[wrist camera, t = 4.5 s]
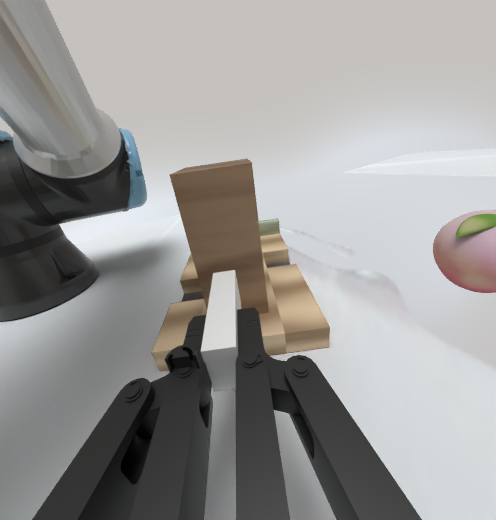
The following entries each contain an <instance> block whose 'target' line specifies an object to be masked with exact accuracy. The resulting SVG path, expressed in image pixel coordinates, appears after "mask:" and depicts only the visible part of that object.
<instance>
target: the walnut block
mask: <svg viewBox="0 0 496 520" xmlns="http://www.w3.org/2000/svg"><path fill="white" fill-rule="evenodd" d="M170 178H171V182H172V185H173V189H174V192H175V196H176V200H177V203H178V207H179V210H180V214H181V218H182V221H183V225H184V229H185V232H186V236H187V240H188V243H189V247H190V250H191V254H192V258H193V261H194V265H195V268H196V272H197V276H198V279H199V283H200V287H201V290H202V294H203V297H204V301H205V305H206V308H207V309H208V303H209V296H210V290H211V284H212V278H213V273H217V272H224V271H231V270H235V273H236V278H237V284H238V289H239V294H240V300H241V309H245V308H252V307H255V309H256V310H257V311H258V312H259V314H264V313H269V308H268V300H267V291H266V282H265V274H264V265H263V256H262V248H261V239H260V230H259V222H258V213H257V206H256V196H255V187H254V179H253V170H252V163H251V162H250V161H249V160H248V159H241V160H235V161H228V162H221V163H215V164H208V165H201V166H195V167H188V168H184V169H182V170H179V171H177V172H175V173H173V174H170Z"/></svg>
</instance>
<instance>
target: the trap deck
mask: <svg viewBox="0 0 496 520" xmlns="http://www.w3.org/2000/svg"><path fill="white" fill-rule="evenodd" d="M258 222H259V230H260V239H261V248H262V256H263V265H264V274H265V282H266V291H267V300H268V308H269V313H264V314H259V317H260V324H261V331H262V337H263V344H264V349H265V351H266V353H267V354H268V355H276V354H283V353H290V352H297V351H304V350H311V349H318V348H325V347H329V333H330V327H329V325H328V323H327V321H326V319H325V317H324V315H323V313H322V312H321V310H320V308H319V306H318V304H317V302H316V300H315V298H314V297H313V295H312V293H311V291H310V289H309V287H308V285H307V284H306V282H305V280H304V278H303V276H302V274H301V272H300V270H299V269H298V267H297V265H296V264H292V265H290V263H289V257H288V248H287V246H286V244H285V242H284V240H283V239H282V237H281V235H280V230H279V220H278V219H271V220H264V221H258ZM180 282H181V285H182V288H183V291H184V296H183V299H182V302H178V303H171V305H170V307H169V310H168V312H167V315H166V317H165V320H164V322H163V325H162V327H161V330H160V332H159V335H158V337H157V340H156V342H155V345H154V347H153V350H152V352H151V353H152V355H153V357H154V359H155V361H156V363H157V365H158V367H159V370H160V371H163V370H169V369H168V367H167V364H166V362H165V360H164V359H165V357H166V356H167V354H168V353H169V352H170V351H171V350H172V349H174V348H176V347H177V346H181V345H183V343H184V339H185V335H186V332H187V327H188V323H189V322H190V321H191V319H192V318H193V317H194V316H201V315H207V308H206V305H205V301H204V297H203V294H202V290H201V287H200V283H199V279H198V276H197V272H196V268H195V265H194V261H193V258H192V254H191V255H190V257H189V260H188V262H187V265H186V267H185V270H184V272H183V275H182V277H181V280H180Z"/></svg>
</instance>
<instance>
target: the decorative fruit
mask: <svg viewBox="0 0 496 520" xmlns="http://www.w3.org/2000/svg"><path fill="white" fill-rule="evenodd" d="M433 254H434V258H435V261H436V263H437V265H438V267H439V269H440V270H441V272H442V273H443V274H444V276H446V278H447V279H449V280H450V281H451V282H453V283H454V284H456V285H458V286H460V287H462V288H465V289H468V290H471V291H474V292H482V293H492V292H496V210H483V211H475V212H470V213H468V214H464V215H462V216H460V217H457V218H456V219H454V220H452V221H451V222H449V223H447V224H446V225H445V226H443V227H442V228H441V230H440V231H439V232H438V234H437V236H436V237H435V240H434V244H433Z"/></svg>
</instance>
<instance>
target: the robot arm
mask: <svg viewBox="0 0 496 520" xmlns="http://www.w3.org/2000/svg"><path fill="white" fill-rule="evenodd" d="M0 117H1V118H2V119H3V120H4V121H5V122H6V123H7V124H8V125H9V126H10V127H11V128H12V129H13V131H14V134H13V137H11V135H10V134H8V133H7V132H5V131H0V321H7V320H13V319H18V318H22V317H26V316H30V315H33V314H36V313H39V312H41V311H44V310H47V309H49V308H52V307H54V306H56V305H58V304H60V303H62V302H64V301H66V300H68V299H70V298H72V297H74V296H75V295H77V294H79V293H80V292H82V291H83V290H85V289H86V288H87V287H88V286H90V285H91V284H92V283H93V282H94V281H95V279H96V278H97V275H98V272H97V270H96V268H95V266H94V264H93V263H92V261H91V260H90V259H89V258H87V257H86V256H85V255H84V254H83V253H82V252H81V251H80V250H79V249H78V248H77V247H76V246H75V245H74V244H72V243H71V242H70V241H69V240H68V239H67V238H66V236H65V234H64V233H63V231H62V229H61V227H60V226H59V224H61V223H66V222H70V221H75V220H80V219H85V218H90V217H95V216H100V215H105V214H110V213H116V212H120V211H123V212H124V211H128V210H129V209H132V208H136V207H140V206H142V205H143V204H145V202H146V200H147V192H146V185H145V180H144V176H143V173H142V168H141V162H140V159H139V155H138V151H137V147H136V144H135V141H134V138H133V136H132V134H131V133H130V131H128V130H125V129H121V128H119V129H118V127H117V126H116V124H115V123H114V121H113V120H112V119H111V118H110V117H109V116H108V115H107V114H106V113H104V112H103V111H101V110H100V109H97V108H95V106H94V104H93V102H92V100H91V98H90V95H89V93H88V91H87V89H86V87H85V85H84V82H83V80H82V78H81V76H80V74H79V72H78V70H77V68H76V65H75V63H74V61H73V59H72V57H71V55H70V53H69V50H68V48H67V46H66V44H65V42H64V40H63V38H62V35H61V33H60V31H59V29H58V27H57V25H56V23H55V21H54V18H53V16H52V14H51V12H50V10H49V8H48V6H47V3H46V1H45V0H0ZM164 360H165V362H166V364H167V367H168V369H169V371H170V373H169V374H168V375H166V376H164V377H162V378H160V379H158V380H156V381H153V382H151V383H150V382H149V381H148V380H147V379H145V378H139V379H136V380H133V381H131V382H130V383H128V384H127V385H126V386H124V388H123V389H122V390H121V391H120V392H119V394H118V395H117V397H116V398H115V400H114V401H113V403H112V404H111V405H110V407H109V408H108V410H107V411H106V413H105V414H104V416H103V417H102V419H101V420H100V422H99V423H98V424H97V426H96V427H95V429H94V430H93V432H92V433H91V435H90V436H89V438H88V439H87V440H86V442H85V443H84V445H83V446H82V448H81V449H80V451H79V452H78V454H77V455H76V457H75V458H74V459H73V461H72V462H71V464H70V465H69V467H68V468H67V470H66V471H65V473H64V474H63V476H62V477H61V478H60V480H59V481H58V483H57V484H56V486H55V487H54V489H53V490H52V492H51V493H50V495H49V496H48V497H47V499H46V500H45V502H44V503H43V505H42V506H41V508H40V509H39V511H38V512H37V514H36V515H35V516H34V518H33V519H32V520H204V511H205V498H206V485H207V472H208V460H209V447H210V434H211V421H212V408H213V402H212V397H211V387H212V388H213V391H221V390H228V389H235V388H236V520H290V517H289V510H288V504H287V497H286V490H285V483H284V477H283V470H282V463H281V457H280V450H279V443H278V437H277V430H276V423H275V416H274V410H277V411H282V412H286V413H289V415H290V417H291V419H292V421H293V424H294V426H295V428H296V430H297V432H298V435H299V437H300V439H301V441H302V444H303V446H304V448H305V450H306V453H307V455H308V457H309V459H310V461H311V464H312V466H313V468H314V470H315V473H316V475H317V477H318V479H319V482H320V484H321V486H322V488H323V490H324V493H325V495H326V497H327V499H328V502H329V504H330V506H331V508H332V511H333V513H334V515H335V517H336V520H422V519H421V518H420V516H419V515H418V513H417V512H416V511H415V509H414V508H413V506H412V505H411V503H410V502H409V500H408V499H407V497H406V496H405V494H404V493H403V491H402V490H401V489H400V487H399V486H398V484H397V483H396V481H395V480H394V478H393V477H392V475H391V474H390V472H389V471H388V470H387V468H386V467H385V465H384V464H383V462H382V461H381V459H380V458H379V456H378V455H377V453H376V452H375V450H374V449H373V448H372V446H371V445H370V443H369V442H368V440H367V439H366V437H365V436H364V434H363V433H362V431H361V430H360V428H359V427H358V426H357V424H356V423H355V421H354V420H353V418H352V417H351V415H350V414H349V412H348V411H347V409H346V408H345V406H344V405H343V404H342V402H341V401H340V399H339V398H338V396H337V395H336V393H335V392H334V390H333V389H332V387H331V386H330V384H329V383H328V382H327V380H326V379H325V377H324V376H323V374H322V373H321V371H320V370H319V368H318V367H317V365H316V364H315V363H314V362H313V361H312V360H311V359H310V358H308V357H306V356H301V355H297V356H292V357H291V358H289V359H288V360H287V361H280V360H276V359H273V358H271V357H270V356H269V355H268V354H267V353H266V351H265V349H264V344H263V337H262V331H261V324H260V317H259V312H258V311H257V310H256V309H255V307H252V308H245V309H241V300H240V294H239V289H238V284H237V278H236V273H235V270H231V271H224V272H217V273H213V278H212V284H211V290H210V296H209V303H208V309H207V315H201V316H194V317H193V318H192V319H191V321H190V322H189V323H188V327H187V332H186V335H185V339H184V343H183V345H181V346H177V347H176V348H174V349H172V350H171V351H170V352H169V353H168V354H167V356H166V357H165V359H164Z"/></svg>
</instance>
